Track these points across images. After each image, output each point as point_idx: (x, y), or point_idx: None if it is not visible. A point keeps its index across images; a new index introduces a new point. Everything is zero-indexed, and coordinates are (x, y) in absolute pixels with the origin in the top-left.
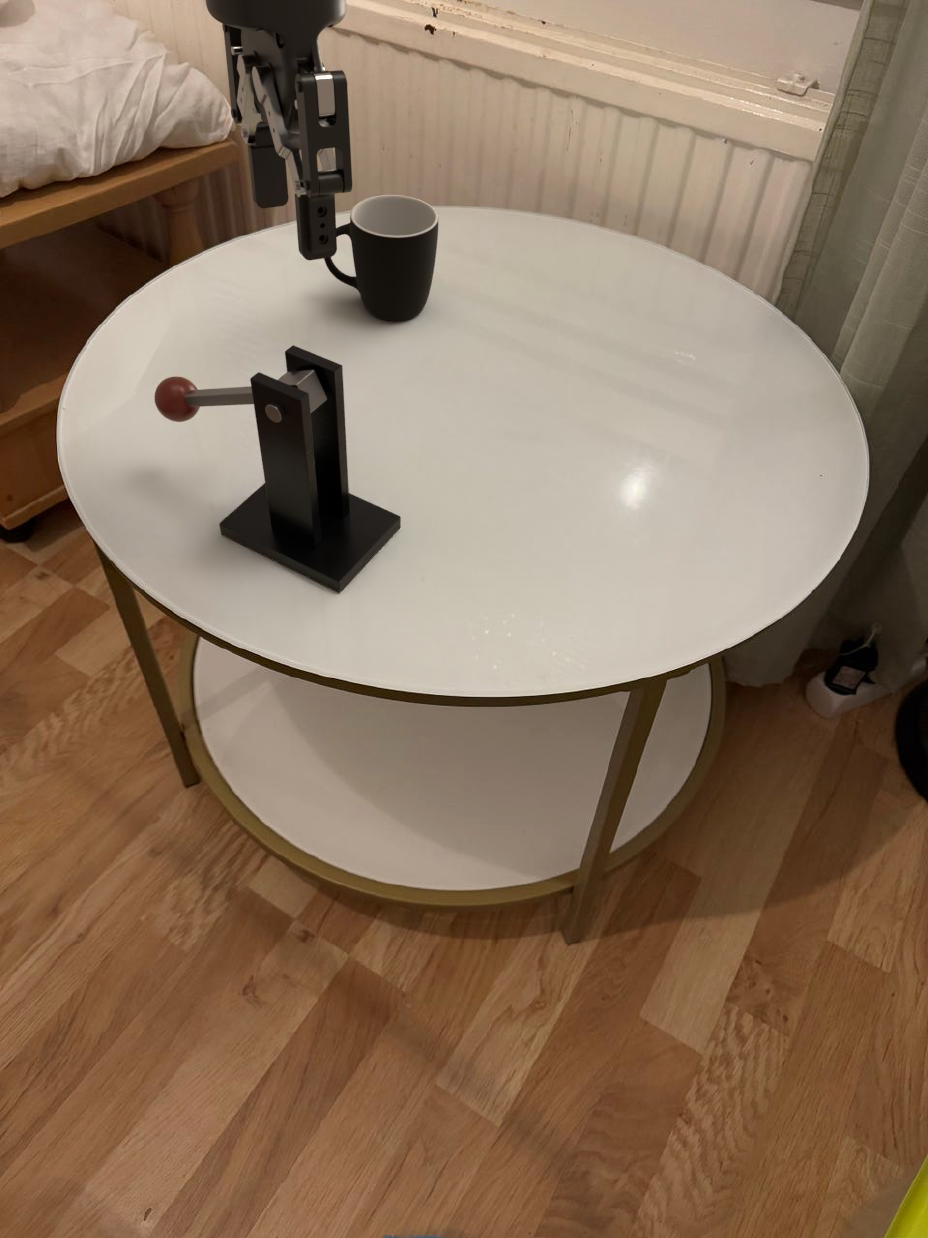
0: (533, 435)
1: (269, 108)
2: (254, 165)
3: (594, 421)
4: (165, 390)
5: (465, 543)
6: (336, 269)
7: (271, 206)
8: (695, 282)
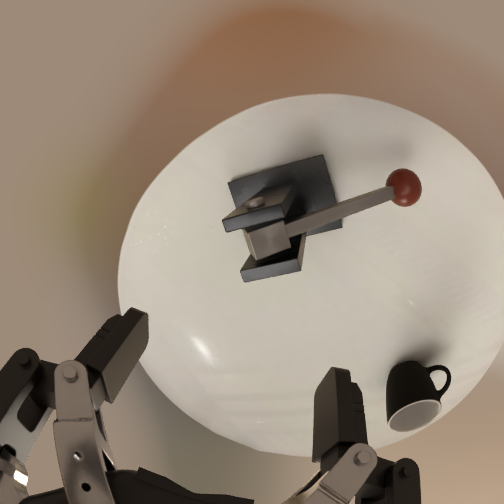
0: (264, 349)
1: (76, 491)
2: (336, 418)
3: (251, 373)
4: (406, 178)
5: (219, 264)
6: (440, 369)
7: (325, 377)
8: (294, 450)
